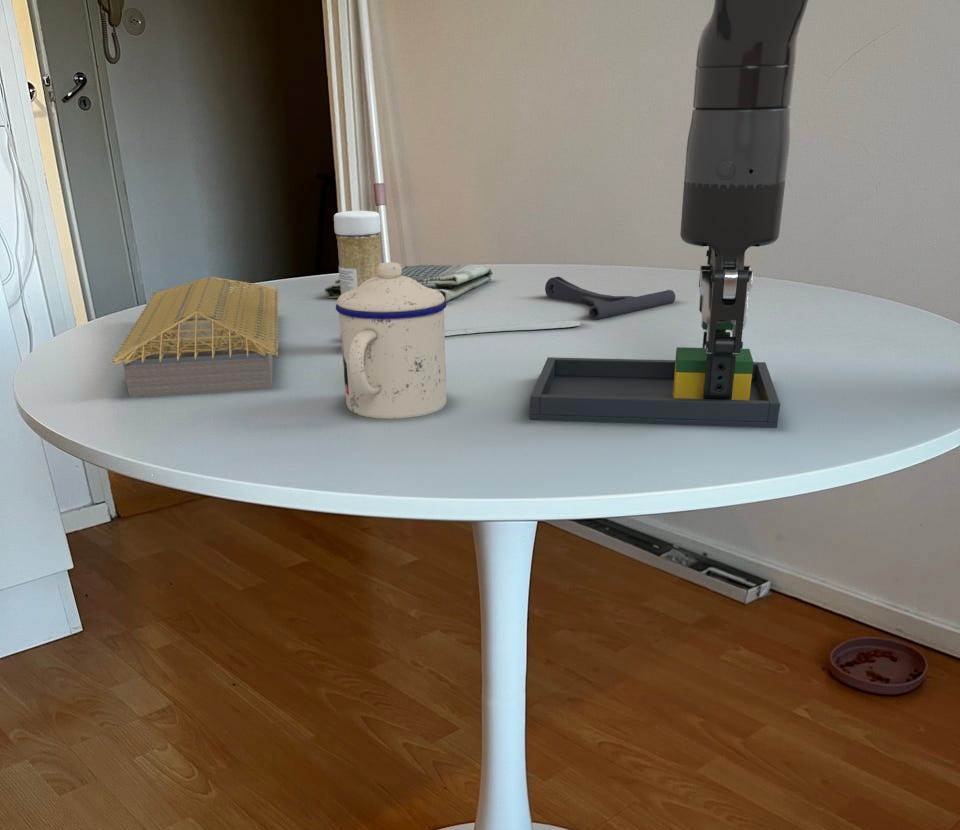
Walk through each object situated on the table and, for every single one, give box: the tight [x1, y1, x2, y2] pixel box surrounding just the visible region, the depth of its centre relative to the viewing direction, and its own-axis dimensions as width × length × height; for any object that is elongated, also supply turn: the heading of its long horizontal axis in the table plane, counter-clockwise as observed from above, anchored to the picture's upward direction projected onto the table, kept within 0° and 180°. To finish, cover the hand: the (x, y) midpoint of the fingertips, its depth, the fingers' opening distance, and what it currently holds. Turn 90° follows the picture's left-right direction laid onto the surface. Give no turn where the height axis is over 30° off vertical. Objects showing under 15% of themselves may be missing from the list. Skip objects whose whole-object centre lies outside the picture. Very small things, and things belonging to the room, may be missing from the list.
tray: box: [529, 356, 781, 429], centre depth 86 cm, size 20×14×2 cm
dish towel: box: [324, 263, 493, 302], centre depth 136 cm, size 19×18×3 cm
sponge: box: [673, 346, 754, 400], centre depth 83 cm, size 6×4×4 cm
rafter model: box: [110, 276, 279, 398], centre depth 104 cm, size 35×14×6 cm, turn 10°
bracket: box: [544, 276, 676, 321], centre depth 125 cm, size 14×15×3 cm
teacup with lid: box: [335, 262, 448, 420], centre depth 83 cm, size 12×9×12 cm
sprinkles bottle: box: [333, 210, 382, 295], centre depth 102 cm, size 5×5×14 cm
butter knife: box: [444, 320, 581, 337], centre depth 111 cm, size 1×27×3 cm
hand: (714, 388), depth 84 cm, fingers open, 8 cm apart
